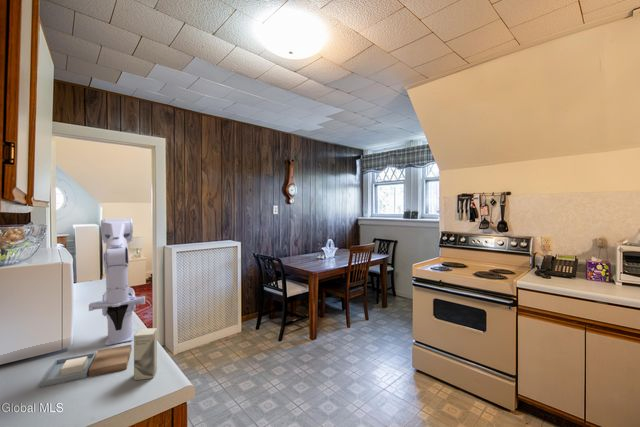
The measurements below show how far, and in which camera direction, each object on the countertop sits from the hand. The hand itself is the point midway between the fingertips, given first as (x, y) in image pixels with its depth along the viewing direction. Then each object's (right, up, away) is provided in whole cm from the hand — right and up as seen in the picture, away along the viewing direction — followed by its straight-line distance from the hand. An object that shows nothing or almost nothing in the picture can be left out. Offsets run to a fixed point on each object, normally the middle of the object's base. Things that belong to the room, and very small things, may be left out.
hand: (118, 329), depth 94 cm
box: (+14, -10, -8) cm, 19 cm away
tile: (-9, -9, -6) cm, 14 cm away
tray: (-10, -10, -6) cm, 15 cm away
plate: (-1, -10, -2) cm, 10 cm away
